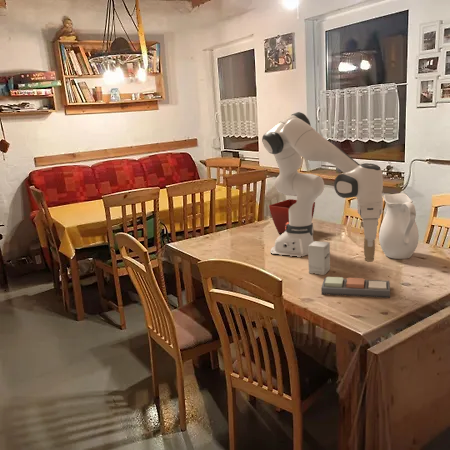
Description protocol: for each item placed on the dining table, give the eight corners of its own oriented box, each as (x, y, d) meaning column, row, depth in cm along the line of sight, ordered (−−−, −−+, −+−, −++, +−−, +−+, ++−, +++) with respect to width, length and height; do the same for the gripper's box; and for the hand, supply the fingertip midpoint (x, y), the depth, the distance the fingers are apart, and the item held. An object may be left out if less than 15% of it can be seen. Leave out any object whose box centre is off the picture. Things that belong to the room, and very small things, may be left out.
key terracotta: (346, 289, 176) (346, 283, 175) (347, 282, 182) (347, 277, 181) (364, 289, 174) (363, 284, 173) (364, 283, 180) (364, 278, 179)
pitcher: (374, 250, 222) (374, 194, 215) (410, 248, 221) (411, 191, 214) (390, 268, 198) (391, 204, 192) (430, 265, 198) (432, 202, 191)
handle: (358, 260, 175) (358, 222, 172) (371, 257, 178) (371, 220, 174) (367, 264, 171) (367, 224, 167) (380, 261, 173) (381, 222, 170)
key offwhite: (368, 292, 174) (368, 287, 173) (368, 286, 179) (368, 280, 179) (386, 293, 172) (386, 288, 171) (386, 286, 177) (386, 281, 177)
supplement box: (324, 275, 196) (324, 247, 193) (308, 273, 200) (307, 245, 197) (330, 269, 202) (330, 242, 199) (314, 267, 206) (313, 240, 203)
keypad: (321, 294, 177) (321, 288, 177) (324, 284, 187) (324, 278, 186) (389, 297, 170) (390, 291, 169) (389, 287, 179) (389, 280, 178)
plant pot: (269, 233, 265) (267, 205, 260) (290, 226, 277) (289, 198, 273) (295, 239, 251) (294, 208, 247) (316, 230, 263) (316, 201, 259)
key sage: (325, 288, 178) (325, 282, 178) (326, 281, 184) (326, 276, 184) (342, 288, 176) (342, 283, 176) (343, 282, 182) (343, 277, 182)
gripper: (361, 201, 180) (361, 235, 183) (360, 215, 161) (361, 252, 164) (378, 201, 178) (378, 235, 181) (380, 215, 159) (379, 253, 163)
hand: (370, 244), depth 173 cm, fingers closed on handle, 4 cm apart
